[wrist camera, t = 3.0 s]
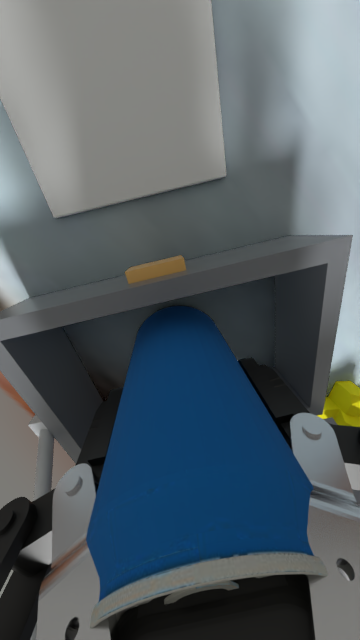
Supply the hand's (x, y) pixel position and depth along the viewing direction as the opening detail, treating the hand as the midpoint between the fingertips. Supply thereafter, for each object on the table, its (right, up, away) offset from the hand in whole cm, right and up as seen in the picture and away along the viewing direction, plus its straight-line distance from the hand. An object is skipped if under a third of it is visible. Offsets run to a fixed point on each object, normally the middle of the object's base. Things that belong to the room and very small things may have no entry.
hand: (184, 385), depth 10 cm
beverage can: (0, +2, +5) cm, 5 cm away
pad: (-4, +15, -2) cm, 16 cm away
